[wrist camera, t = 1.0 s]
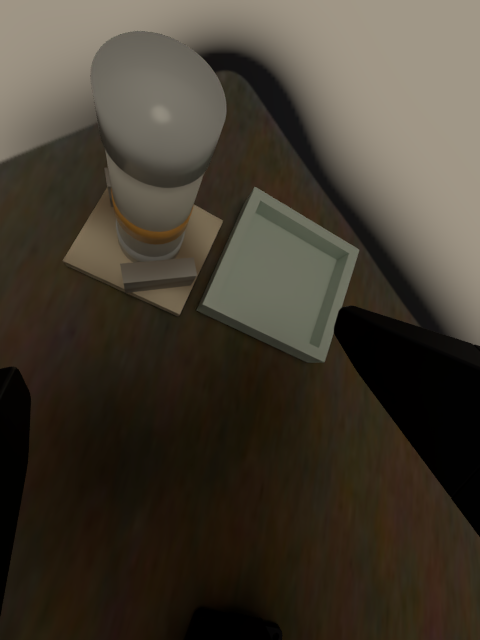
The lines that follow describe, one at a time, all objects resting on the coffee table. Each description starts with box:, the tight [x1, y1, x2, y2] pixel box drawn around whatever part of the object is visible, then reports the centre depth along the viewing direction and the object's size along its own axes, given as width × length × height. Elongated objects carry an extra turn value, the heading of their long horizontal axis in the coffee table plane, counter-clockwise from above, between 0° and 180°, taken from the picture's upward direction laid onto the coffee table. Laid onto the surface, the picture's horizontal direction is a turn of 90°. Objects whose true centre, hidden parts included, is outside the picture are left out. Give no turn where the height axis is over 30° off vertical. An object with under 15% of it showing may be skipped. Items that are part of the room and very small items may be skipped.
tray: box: [196, 187, 359, 363], centre depth 23 cm, size 10×10×2 cm
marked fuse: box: [90, 31, 226, 263], centre depth 15 cm, size 4×4×12 cm
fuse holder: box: [63, 168, 223, 316], centre depth 20 cm, size 8×8×4 cm
